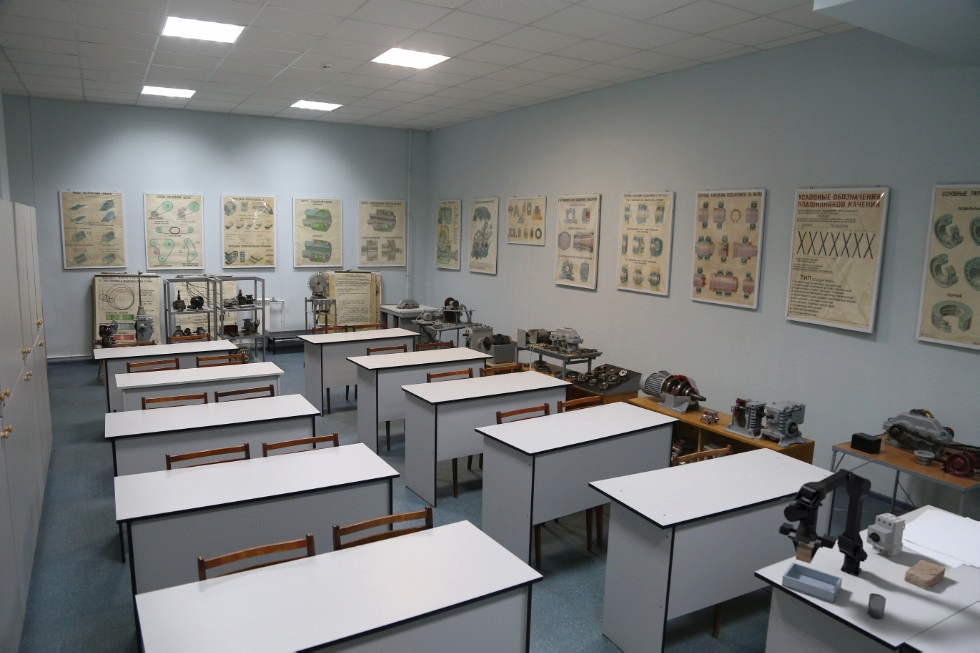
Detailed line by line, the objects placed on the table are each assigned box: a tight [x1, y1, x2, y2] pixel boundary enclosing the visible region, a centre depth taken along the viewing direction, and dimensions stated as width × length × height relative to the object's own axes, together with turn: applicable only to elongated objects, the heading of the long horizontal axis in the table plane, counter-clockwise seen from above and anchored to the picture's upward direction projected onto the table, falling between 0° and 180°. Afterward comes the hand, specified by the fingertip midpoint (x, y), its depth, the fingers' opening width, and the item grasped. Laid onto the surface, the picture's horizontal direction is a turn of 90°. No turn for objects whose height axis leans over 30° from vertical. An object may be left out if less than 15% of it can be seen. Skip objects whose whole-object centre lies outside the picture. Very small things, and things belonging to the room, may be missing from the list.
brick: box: [903, 559, 946, 590], centre depth 250 cm, size 17×8×5 cm, turn 126°
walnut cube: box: [795, 542, 814, 564], centre depth 243 cm, size 5×5×5 cm
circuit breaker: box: [866, 512, 906, 558], centre depth 270 cm, size 8×14×15 cm, turn 115°
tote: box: [781, 562, 843, 604], centre depth 243 cm, size 14×18×4 cm
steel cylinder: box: [866, 592, 887, 621], centre depth 225 cm, size 5×5×7 cm
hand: (804, 556), depth 243 cm, fingers closed on walnut cube, 5 cm apart
